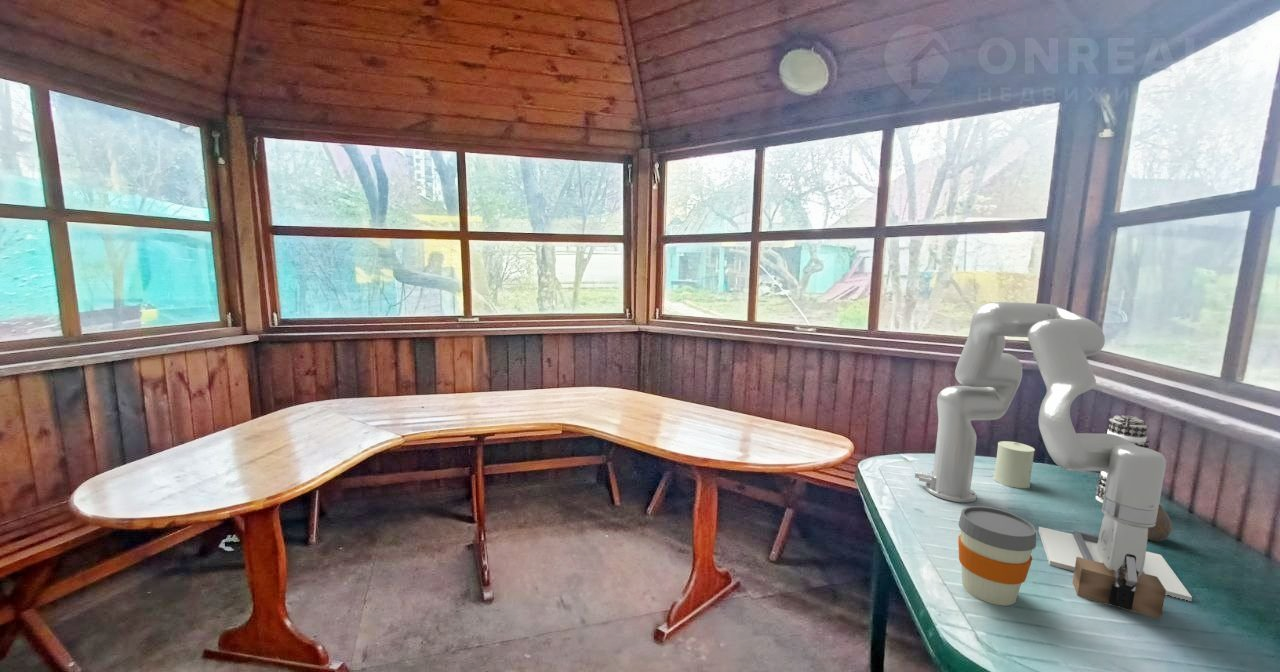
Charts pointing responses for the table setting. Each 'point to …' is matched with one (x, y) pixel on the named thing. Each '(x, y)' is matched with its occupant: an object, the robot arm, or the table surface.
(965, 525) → the reusable coffee cup
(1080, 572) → the walnut bar
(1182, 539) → the table surface
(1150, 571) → the slot board
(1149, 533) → the vase
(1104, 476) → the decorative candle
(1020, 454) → the can
